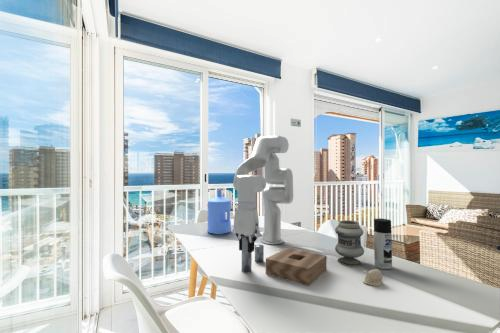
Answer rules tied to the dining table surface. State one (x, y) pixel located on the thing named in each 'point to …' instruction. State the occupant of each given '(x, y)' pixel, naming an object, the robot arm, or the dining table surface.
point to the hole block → (296, 265)
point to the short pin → (259, 253)
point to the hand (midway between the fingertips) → (246, 250)
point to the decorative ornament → (373, 277)
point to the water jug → (219, 214)
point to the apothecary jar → (349, 242)
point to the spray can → (383, 243)
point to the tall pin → (246, 255)
